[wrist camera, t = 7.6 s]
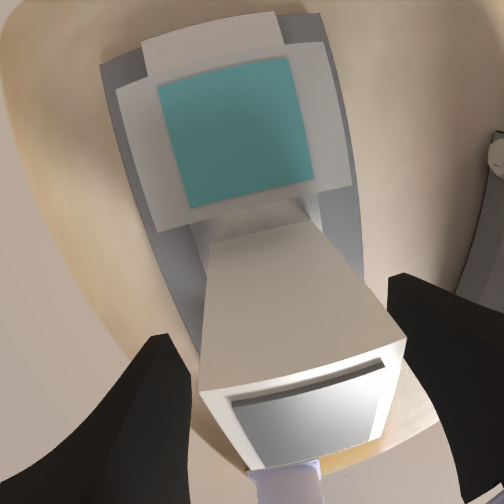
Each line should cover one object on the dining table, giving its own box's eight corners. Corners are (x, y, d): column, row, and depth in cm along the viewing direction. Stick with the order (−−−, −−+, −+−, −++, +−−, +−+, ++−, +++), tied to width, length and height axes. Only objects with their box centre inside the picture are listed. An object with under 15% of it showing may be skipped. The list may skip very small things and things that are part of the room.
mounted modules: (342, 377, 15) (356, 408, 13) (246, 401, 15) (249, 435, 13) (301, 59, 8) (324, 40, 6) (139, 97, 8) (114, 89, 6)
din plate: (355, 373, 18) (360, 383, 17) (231, 404, 18) (232, 415, 17) (312, 20, 9) (319, 13, 8) (108, 69, 9) (99, 65, 8)
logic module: (321, 310, 13) (381, 441, 6) (237, 330, 13) (251, 474, 6) (310, 219, 11) (410, 342, 4) (210, 242, 11) (198, 398, 4)
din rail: (333, 392, 17) (335, 398, 16) (260, 410, 17) (261, 417, 16) (271, 16, 8) (274, 10, 7) (144, 46, 8) (140, 42, 7)
